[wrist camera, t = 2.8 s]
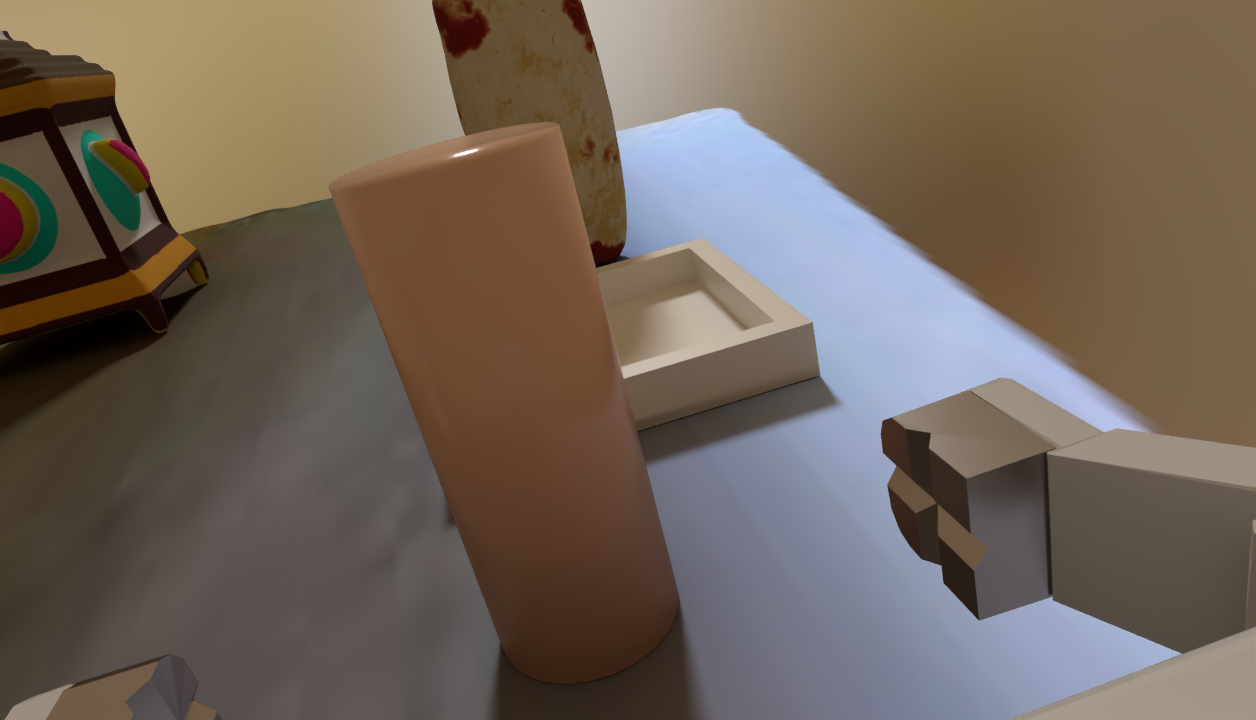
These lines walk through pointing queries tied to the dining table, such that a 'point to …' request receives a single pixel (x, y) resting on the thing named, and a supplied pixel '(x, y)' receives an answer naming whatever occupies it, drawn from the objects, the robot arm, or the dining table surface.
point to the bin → (700, 332)
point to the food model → (540, 93)
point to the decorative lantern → (76, 202)
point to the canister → (518, 392)
